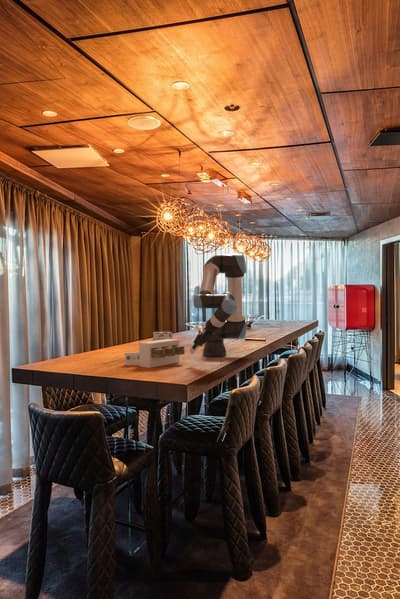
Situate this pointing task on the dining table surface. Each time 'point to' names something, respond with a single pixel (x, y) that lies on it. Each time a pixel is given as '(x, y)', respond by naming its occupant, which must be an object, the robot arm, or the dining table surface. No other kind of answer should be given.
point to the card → (132, 358)
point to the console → (149, 361)
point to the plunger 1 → (157, 353)
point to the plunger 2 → (179, 350)
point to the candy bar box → (162, 335)
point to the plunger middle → (169, 351)
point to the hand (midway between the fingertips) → (191, 351)
